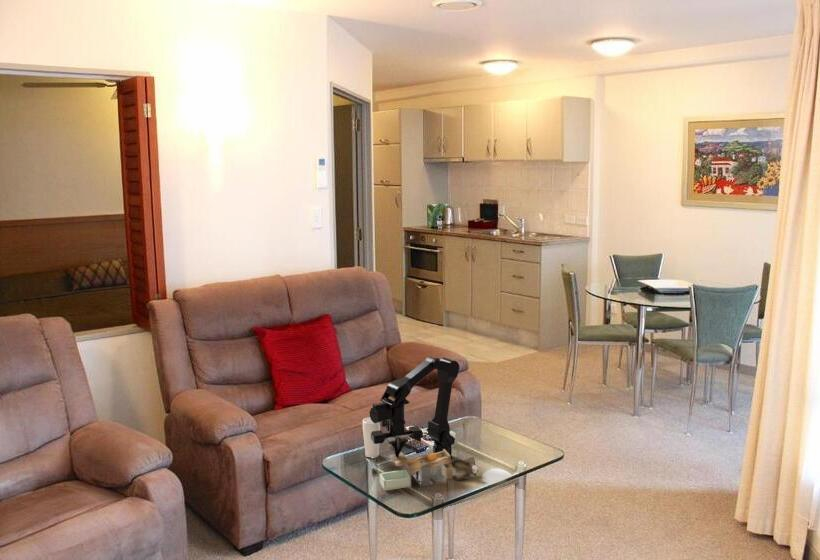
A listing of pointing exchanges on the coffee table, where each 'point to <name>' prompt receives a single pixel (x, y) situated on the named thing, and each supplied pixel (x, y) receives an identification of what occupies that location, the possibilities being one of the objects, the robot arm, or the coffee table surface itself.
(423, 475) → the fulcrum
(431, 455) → the ball
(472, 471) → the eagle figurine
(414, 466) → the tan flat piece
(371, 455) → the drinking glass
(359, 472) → the coffee table surface
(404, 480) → the mint cubby shelf
